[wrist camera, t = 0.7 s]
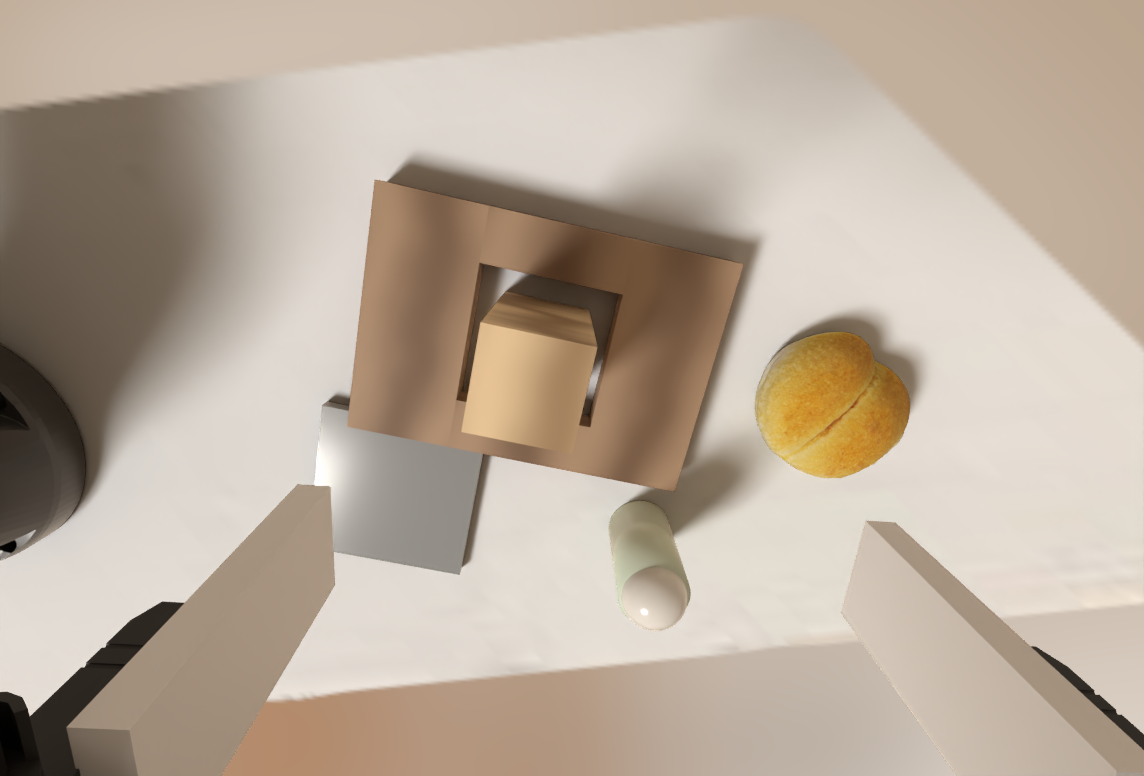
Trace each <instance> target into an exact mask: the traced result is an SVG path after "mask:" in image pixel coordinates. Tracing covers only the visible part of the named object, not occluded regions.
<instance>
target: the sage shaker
mask: <svg viewBox="0 0 1144 776" xmlns="http://www.w3.org/2000/svg"><path fill="white" fill-rule="evenodd" d="M609 536H610V544H611V552H612V559H613V567H614V575H615V582H616V590H617V598H618V603H619V606H620V608H621V610H622V612H623V613H624V614H625V615H626V616H627V617H628V618H629V619H631V620H632V621H633V622H634V623H635V624H636V625H638V626H639V627H641V628H644V629H646V630H650V631H661V630H665V629H668V628H670V627H672V626H673V625H675V624H676V623H677V622H678V621H679V620H680V619H681V617H682V616H683V614H684V612H685V609H686V607H687V606H688V603H689V600H690V586H689V583H688V580H687V577H686V574H685V571H684V568H683V565H682V562H681V559H680V556H679V553H678V549H677V546H676V543H675V540H674V537H673V534H672V531H671V528H670V525H669V522H668V519H667V516H666V515H665V513H664V512H663V510H662V509H661V508H659V507H658V506H657V505H655V504H653V503H650V502H647V501H633V502H629V503H626V504H624V505H623V506H621V507H620V508H618V509H617V510H616V511H615V512H614V514H613V515H612V517H611V519H610V522H609Z"/></svg>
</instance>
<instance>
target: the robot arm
mask: <svg viewBox="0 0 1144 776" xmlns="http://www.w3.org/2000/svg"><path fill="white" fill-rule="evenodd" d="M84 482H85V456H84V449H83V445H82V441H81V438H80V435H79V432H78V430H77V427H76V425H75V423H74V420H73V418H72V416H71V415H70V413H69V411H68V409H67V408H66V406H65V405H64V403H63V401H62V400H61V399H60V397H59V396H58V395H57V393H56V392H55V391H54V389H53V388H52V387H51V386H50V385H49V384H48V383H47V381H46V380H45V379H44V378H43V377H42V376H41V375H40V374H39V373H38V372H36V371H35V370H34V369H33V368H32V367H31V366H30V365H28V364H27V363H26V362H25V361H23V360H22V359H21V358H19V357H18V356H17V355H15V354H14V353H12V352H11V351H9V350H8V349H6V348H4V347H2V346H1V345H0V561H1V560H3V559H6V558H8V557H11V556H13V555H15V554H17V553H19V552H21V551H23V550H25V549H26V548H28V547H30V546H31V545H33V544H35V543H36V542H38V541H39V540H41V539H43V538H44V537H46V536H48V535H49V534H51V533H52V532H54V531H55V530H56V529H58V528H59V527H60V526H61V525H62V524H63V523H64V522H65V521H66V520H67V519H68V518H69V517H70V515H71V514H72V513H73V511H74V510H75V508H76V506H77V504H78V502H79V500H80V497H81V494H82V491H83V487H84ZM334 586H335V576H334V553H333V530H332V508H331V486H315V485H300V484H298V485H297V486H296V487H295V488H294V489H293V490H292V491H291V492H290V493H289V494H288V495H287V496H286V497H285V498H284V499H283V500H282V501H281V502H280V503H279V505H278V506H277V507H276V508H275V509H274V510H273V511H272V512H271V513H270V514H269V515H268V516H267V517H266V518H265V519H264V520H263V521H262V522H261V523H260V524H259V526H258V527H257V528H256V529H255V530H254V531H253V532H252V533H251V534H250V535H249V536H248V537H247V538H246V539H245V540H244V541H243V542H242V543H241V544H240V545H239V547H238V548H237V549H236V550H235V551H234V552H233V553H232V554H231V555H230V556H229V557H228V558H227V559H226V560H225V561H224V562H223V563H222V564H221V565H220V566H219V568H218V569H217V570H216V571H215V572H214V573H213V574H212V575H211V576H210V577H209V578H208V579H207V580H206V581H205V582H204V583H203V584H202V585H201V586H200V587H199V589H198V590H197V591H196V592H195V593H194V594H193V595H192V596H191V597H190V598H189V599H188V600H187V601H186V602H185V603H177V602H161V603H159V604H158V605H156V606H154V607H152V608H151V609H149V610H147V611H146V612H144V613H142V614H141V615H139V616H137V617H135V618H134V619H132V620H130V621H129V622H128V623H127V624H126V625H125V626H124V627H123V628H122V629H121V630H120V631H119V632H118V633H117V634H116V635H115V636H114V637H113V638H112V639H111V640H109V641H108V642H107V645H106V647H105V648H101V649H100V650H99V651H98V652H97V653H96V654H95V655H94V656H93V657H92V658H91V659H90V660H89V661H88V662H86V666H85V668H80V669H79V670H78V671H77V672H76V673H75V674H74V675H73V676H72V677H71V678H70V679H69V680H68V681H67V682H66V683H65V684H64V685H62V686H61V687H60V688H59V689H58V690H57V691H56V692H55V693H54V694H53V695H52V696H51V697H50V698H49V699H48V700H47V701H46V702H45V703H44V704H43V705H42V706H41V707H39V708H38V709H37V710H36V711H35V712H34V713H33V714H32V715H31V716H30V717H29V713H28V709H27V706H26V704H25V702H24V700H23V698H22V697H20V696H17V695H14V694H12V693H9V692H0V776H221V775H222V774H223V772H224V770H225V769H226V767H227V765H228V764H229V762H230V760H231V759H232V757H233V755H234V754H235V752H236V750H237V749H238V747H239V745H240V744H241V742H242V740H243V738H244V737H245V735H246V733H247V731H248V730H249V728H250V727H251V725H252V723H253V722H254V720H255V718H256V717H257V715H258V713H259V712H260V710H261V708H262V707H263V705H264V703H265V702H266V700H267V698H268V697H269V695H270V693H271V691H272V690H273V688H274V686H275V685H276V683H277V681H278V680H279V678H280V676H281V675H282V673H283V671H284V670H285V668H286V666H287V665H288V663H289V661H290V660H291V658H292V656H293V655H294V653H295V651H296V649H297V648H298V646H299V644H300V643H301V641H302V639H303V638H304V636H305V634H306V633H307V631H308V629H309V628H310V626H311V624H312V623H313V621H314V619H315V618H316V616H317V614H318V613H319V611H320V609H321V608H322V606H323V604H324V602H325V601H326V599H327V597H328V596H329V594H330V592H331V591H332V589H333V587H334ZM841 614H842V615H843V617H844V618H845V620H846V621H847V622H848V624H849V625H850V627H851V628H852V630H853V631H854V632H855V634H856V635H857V637H858V638H859V639H860V641H861V642H862V644H863V645H864V646H865V648H866V649H867V650H868V652H869V653H870V655H871V656H872V658H873V659H874V661H875V662H876V663H877V665H878V666H879V668H880V669H881V670H882V672H883V673H884V675H885V676H886V677H887V679H888V680H889V682H890V683H891V684H892V686H893V687H894V689H895V690H896V692H897V693H898V694H899V696H900V697H901V699H902V700H903V701H904V703H905V704H906V706H907V707H908V708H909V710H910V711H911V713H912V714H913V716H914V717H915V718H916V720H917V721H918V723H919V724H920V725H921V727H922V728H923V730H924V731H925V732H926V734H927V735H928V737H929V738H930V739H931V741H932V742H933V744H934V745H935V746H936V748H937V749H938V751H939V752H940V754H941V755H942V756H943V758H944V759H945V761H946V762H947V763H948V765H949V766H950V768H951V769H952V770H953V772H954V773H955V775H956V776H1144V734H1143V733H1142V732H1140V731H1139V730H1138V729H1137V728H1136V727H1134V725H1133V724H1131V723H1130V722H1129V721H1128V720H1127V719H1126V718H1124V716H1122V715H1118V714H1117V713H1116V709H1115V708H1113V707H1112V706H1111V705H1110V704H1109V703H1108V702H1107V701H1106V700H1104V699H1103V698H1102V697H1101V696H1100V695H1095V693H1094V690H1093V689H1092V688H1091V687H1090V686H1089V685H1087V684H1086V683H1085V682H1084V681H1083V680H1082V679H1081V678H1080V677H1079V676H1077V675H1076V674H1075V673H1074V672H1073V671H1072V670H1071V669H1070V668H1068V667H1067V666H1065V665H1064V664H1062V663H1061V662H1059V661H1058V660H1056V659H1054V658H1053V657H1051V656H1050V655H1048V654H1046V653H1045V652H1043V651H1042V650H1040V649H1039V648H1037V647H1031V646H1029V645H1028V644H1027V643H1026V642H1025V641H1024V640H1023V639H1022V638H1020V636H1019V635H1017V634H1016V633H1015V632H1014V631H1013V630H1012V629H1011V628H1010V627H1009V626H1008V625H1007V624H1005V623H1004V622H1003V621H1002V620H1001V619H1000V618H999V617H998V616H997V615H996V614H995V613H993V612H992V611H991V610H990V609H989V608H988V607H987V606H986V605H985V604H984V603H983V602H981V601H980V600H979V599H978V598H977V597H976V596H975V595H974V594H973V593H972V592H971V591H969V590H968V589H967V588H966V587H965V586H964V585H963V584H962V583H961V582H960V581H959V580H957V579H956V578H955V577H954V576H953V575H952V574H951V573H950V572H949V571H948V570H947V569H945V568H944V567H943V566H942V565H941V564H940V563H939V562H938V561H937V560H936V559H935V558H933V557H932V556H931V555H930V554H929V553H928V552H927V551H926V550H925V549H924V548H922V547H921V546H920V545H919V544H918V543H917V542H916V541H915V540H914V539H913V538H912V537H910V536H909V535H908V534H907V533H906V532H905V531H904V530H903V529H902V528H901V527H900V526H898V525H897V524H896V523H892V522H877V521H866V522H865V525H864V529H863V533H862V536H861V540H860V544H859V548H858V551H857V555H856V559H855V562H854V566H853V570H852V574H851V577H850V581H849V585H848V589H847V592H846V596H845V600H844V603H843V607H842V611H841Z"/></svg>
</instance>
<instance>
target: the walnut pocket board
mask: <svg viewBox="0 0 1144 776" xmlns="http://www.w3.org/2000/svg"><path fill="white" fill-rule="evenodd" d="M484 264H487V265H492V266H496V267H501V268H505V269H510V270H514V271H519V272H523V273H528V274H532V275H537V276H541V277H546V278H550V279H555V280H559V281H564V282H568V283H573V284H577V285H582V286H586V287H591V288H595V289H600V290H604V291H609V292H613V293H618V294H619V295H618V299H617V304H616V308H615V312H614V316H613V320H612V324H611V328H610V332H609V336H608V341H607V345H606V349H605V353H604V357H603V361H602V365H601V369H600V373H599V377H598V382H597V386H596V390H595V394H594V398H593V402H592V406H591V410H590V414H589V416H586V415H581V419H580V423H579V427H578V431H577V435H576V440H575V444H574V448H573V452H572V454H568V453H564V452H559V451H554V450H549V449H544V448H539V447H534V446H529V445H524V444H519V443H514V442H509V441H504V440H499V439H494V438H489V437H484V436H479V435H474V434H469V433H464V432H461V430H462V425H463V419H464V413H465V407H466V402H467V396H468V391H465V390H462V388H463V383H464V377H465V371H466V365H467V359H468V354H469V348H470V342H471V336H472V330H473V325H474V319H475V313H476V307H477V301H478V295H479V290H480V284H481V278H482V272H483V266H484ZM743 265H744V264H741V263H737V262H734V261H729V260H725V259H721V258H716V257H712V256H707V255H703V254H699V253H694V252H690V251H686V250H681V249H677V248H673V247H668V246H664V245H660V244H655V243H651V242H647V241H642V240H638V239H633V238H629V237H625V236H620V235H616V234H612V233H607V232H603V231H599V230H594V229H590V228H586V227H581V226H577V225H573V224H568V223H564V222H559V221H555V220H551V219H546V218H542V217H538V216H533V215H529V214H525V213H520V212H516V211H512V210H507V209H503V208H499V207H494V206H490V205H485V204H481V203H477V202H472V201H468V200H464V199H459V198H455V197H451V196H446V195H442V194H438V193H433V192H429V191H425V190H420V189H416V188H412V187H407V186H403V185H398V184H394V183H390V182H385V181H380V180H375V182H374V191H373V200H372V209H371V218H370V227H369V236H368V245H367V253H366V262H365V271H364V280H363V289H362V298H361V307H360V316H359V325H358V334H357V342H356V351H355V360H354V369H353V378H352V387H351V396H350V405H349V414H348V423H347V427H350V428H355V429H360V430H366V431H371V432H376V433H381V434H386V435H391V436H396V437H401V438H406V439H411V440H416V441H421V442H426V443H431V444H436V445H441V446H446V447H451V448H456V449H461V450H466V451H471V452H476V453H481V454H486V455H492V456H497V457H502V458H507V459H512V460H517V461H522V462H527V463H532V464H537V465H542V466H547V467H552V468H557V469H562V470H567V471H572V472H577V473H582V474H587V475H592V476H597V477H602V478H607V479H613V480H618V481H623V482H628V483H633V484H638V485H643V486H648V487H653V488H658V489H663V490H668V491H673V492H675V489H676V486H677V482H678V479H679V476H680V473H681V469H682V466H683V463H684V459H685V456H686V453H687V449H688V446H689V443H690V439H691V436H692V433H693V430H694V426H695V423H696V420H697V416H698V413H699V410H700V406H701V403H702V400H703V397H704V393H705V390H706V387H707V383H708V380H709V377H710V373H711V370H712V367H713V364H714V360H715V357H716V354H717V350H718V347H719V344H720V340H721V337H722V334H723V331H724V327H725V324H726V321H727V317H728V314H729V311H730V307H731V304H732V301H733V298H734V294H735V291H736V288H737V284H738V281H739V278H740V274H741V271H742V268H743Z"/></svg>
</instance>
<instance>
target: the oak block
mask: <svg viewBox="0 0 1144 776" xmlns="http://www.w3.org/2000/svg"><path fill="white" fill-rule="evenodd" d="M597 348H598V347H597V343H596V338H595V334H594V329H593V325H592V321H591V316H590V312H589V309H585V308H580V307H575V306H571V305H566V304H562V303H557V302H553V301H548V300H544V299H539V298H534V297H530V296H525V295H521V294H516V293H512V292H507V291H505V293H504V294H503V295H502V296H501V298H500V299H499V300H498V301H497V302H496V304H495V305H494V306H493V307H492V309H491V310H490V311H489V312H488V314H487V315H486V316H485V317H484V318H483V320H482V321H481V322H480V328H479V333H478V339H477V345H476V350H475V356H474V362H473V368H472V373H471V379H470V385H469V390H468V396H467V402H466V407H465V413H464V419H463V425H462V430H461V432H464V433H469V434H474V435H479V436H484V437H489V438H494V439H499V440H504V441H509V442H514V443H519V444H524V445H529V446H534V447H539V448H544V449H549V450H554V451H559V452H564V453H568V454H572V452H573V448H574V444H575V440H576V435H577V431H578V427H579V423H580V419H581V415H582V410H583V406H584V402H585V398H586V394H587V389H588V385H589V381H590V377H591V373H592V369H593V364H594V360H595V356H596V352H597Z"/></svg>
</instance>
